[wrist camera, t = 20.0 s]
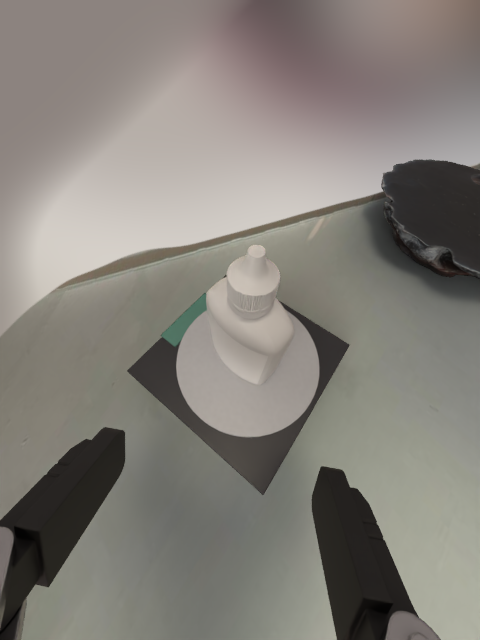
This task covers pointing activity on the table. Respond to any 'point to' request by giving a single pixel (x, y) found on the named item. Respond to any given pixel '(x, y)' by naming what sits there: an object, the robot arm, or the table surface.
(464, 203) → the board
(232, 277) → the eye dropper bottle
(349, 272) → the table surface
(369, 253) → the table surface
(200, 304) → the scale
